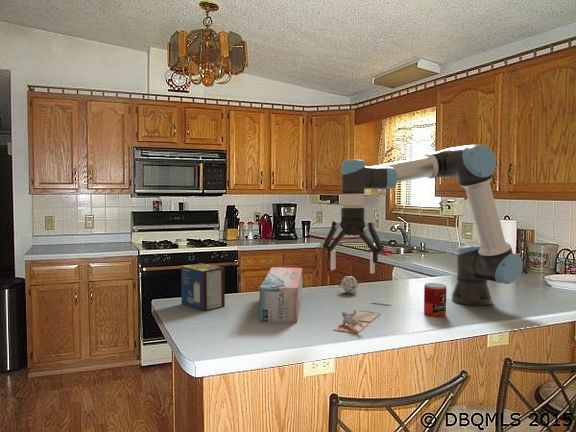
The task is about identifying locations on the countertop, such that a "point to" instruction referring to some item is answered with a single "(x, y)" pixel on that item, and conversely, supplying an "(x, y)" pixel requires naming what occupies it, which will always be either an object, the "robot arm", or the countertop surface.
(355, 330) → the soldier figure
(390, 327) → the countertop surface
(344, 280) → the game die
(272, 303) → the soda box
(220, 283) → the protein box
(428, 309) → the canned food
